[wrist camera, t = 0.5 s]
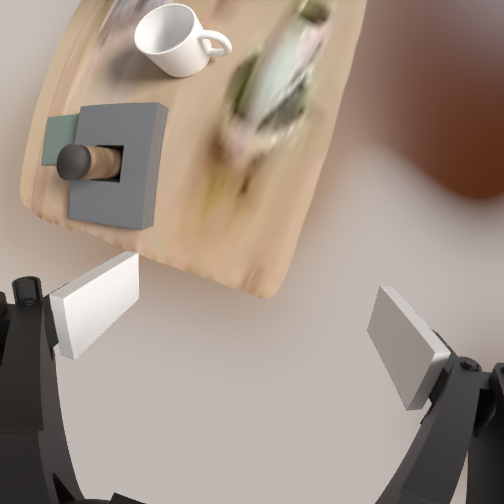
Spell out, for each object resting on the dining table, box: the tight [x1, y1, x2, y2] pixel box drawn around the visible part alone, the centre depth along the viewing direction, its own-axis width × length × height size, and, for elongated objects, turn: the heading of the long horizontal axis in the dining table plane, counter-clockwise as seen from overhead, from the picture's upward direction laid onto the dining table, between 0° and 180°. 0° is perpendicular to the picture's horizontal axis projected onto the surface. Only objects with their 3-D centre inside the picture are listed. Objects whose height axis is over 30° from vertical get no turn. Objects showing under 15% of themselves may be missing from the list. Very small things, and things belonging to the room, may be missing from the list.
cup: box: [134, 4, 232, 77], centre depth 31 cm, size 8×12×10 cm
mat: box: [42, 114, 79, 165], centre depth 40 cm, size 9×9×1 cm
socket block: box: [69, 103, 168, 230], centre depth 39 cm, size 18×14×4 cm
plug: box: [57, 144, 124, 180], centre depth 34 cm, size 4×4×13 cm
